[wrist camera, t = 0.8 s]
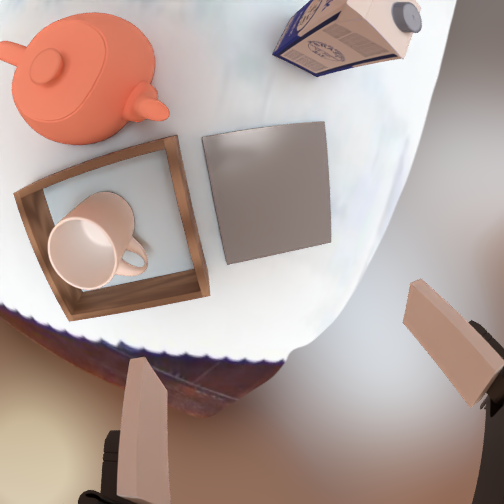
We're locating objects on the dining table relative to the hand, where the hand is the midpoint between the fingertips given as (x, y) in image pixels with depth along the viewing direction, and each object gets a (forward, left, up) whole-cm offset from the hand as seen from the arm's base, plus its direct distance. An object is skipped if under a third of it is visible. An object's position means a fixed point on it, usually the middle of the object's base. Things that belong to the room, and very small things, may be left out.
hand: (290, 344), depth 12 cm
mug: (+1, -16, -28) cm, 32 cm away
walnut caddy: (+1, -16, -28) cm, 32 cm away
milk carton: (-19, +13, -28) cm, 36 cm away
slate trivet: (+1, +6, -28) cm, 28 cm away
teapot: (-19, -14, -28) cm, 36 cm away
